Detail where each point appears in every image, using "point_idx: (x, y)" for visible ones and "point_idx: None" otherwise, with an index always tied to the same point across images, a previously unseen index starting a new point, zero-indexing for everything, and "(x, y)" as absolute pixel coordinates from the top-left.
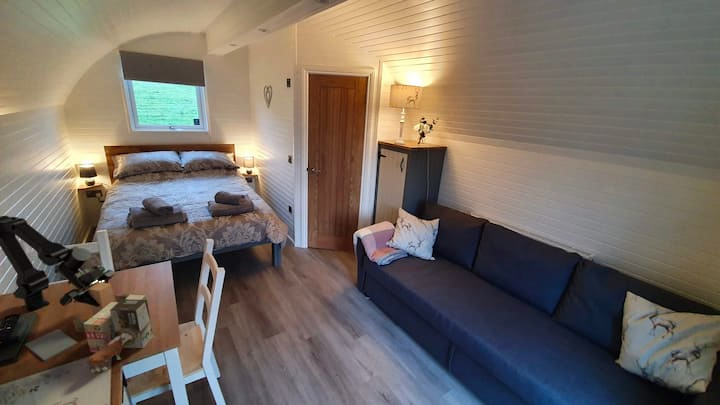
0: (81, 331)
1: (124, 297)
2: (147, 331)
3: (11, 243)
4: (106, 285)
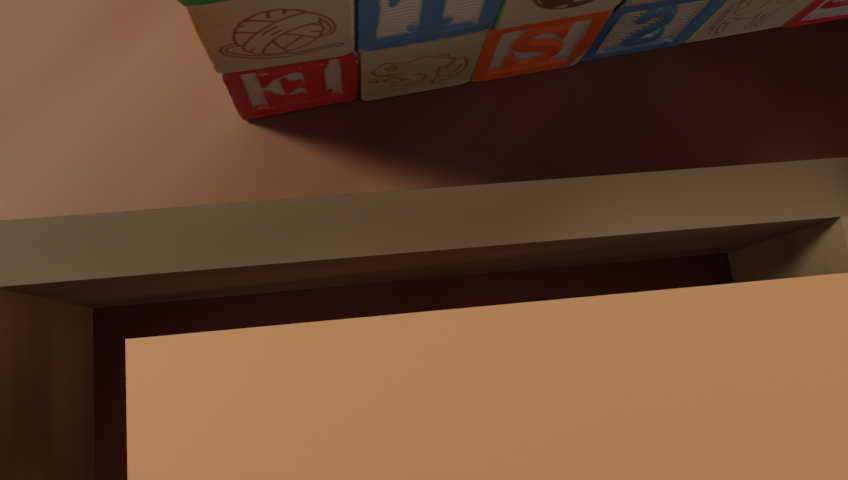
0: None
1: (5, 459)
2: None
3: None
4: (435, 467)
